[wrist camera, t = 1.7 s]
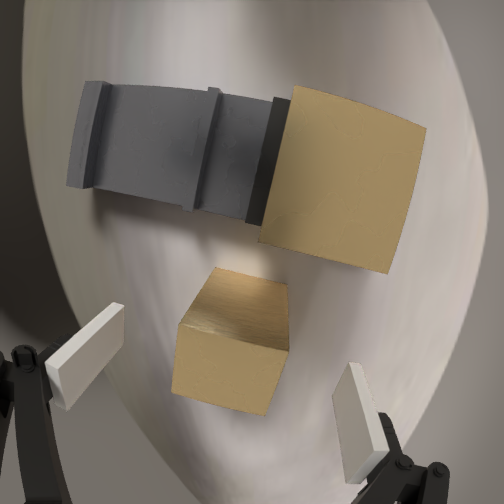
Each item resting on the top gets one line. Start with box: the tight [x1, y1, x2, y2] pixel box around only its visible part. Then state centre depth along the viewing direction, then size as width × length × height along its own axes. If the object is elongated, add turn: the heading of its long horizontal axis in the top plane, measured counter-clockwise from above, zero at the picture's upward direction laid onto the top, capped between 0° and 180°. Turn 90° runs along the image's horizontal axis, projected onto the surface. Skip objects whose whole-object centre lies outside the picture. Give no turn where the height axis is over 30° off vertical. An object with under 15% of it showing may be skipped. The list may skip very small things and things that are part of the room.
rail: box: [66, 81, 426, 274], centre depth 13 cm, size 7×20×10 cm, turn 77°
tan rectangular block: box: [171, 267, 289, 416], centre depth 17 cm, size 5×5×8 cm
